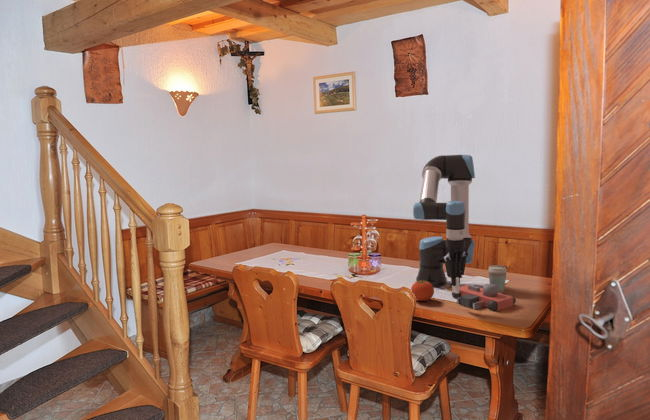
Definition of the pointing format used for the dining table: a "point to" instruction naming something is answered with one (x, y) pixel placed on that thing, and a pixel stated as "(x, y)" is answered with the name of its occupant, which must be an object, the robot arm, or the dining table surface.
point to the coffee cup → (498, 276)
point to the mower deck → (487, 296)
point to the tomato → (422, 290)
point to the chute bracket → (476, 304)
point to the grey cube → (468, 300)
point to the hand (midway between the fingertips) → (455, 292)
